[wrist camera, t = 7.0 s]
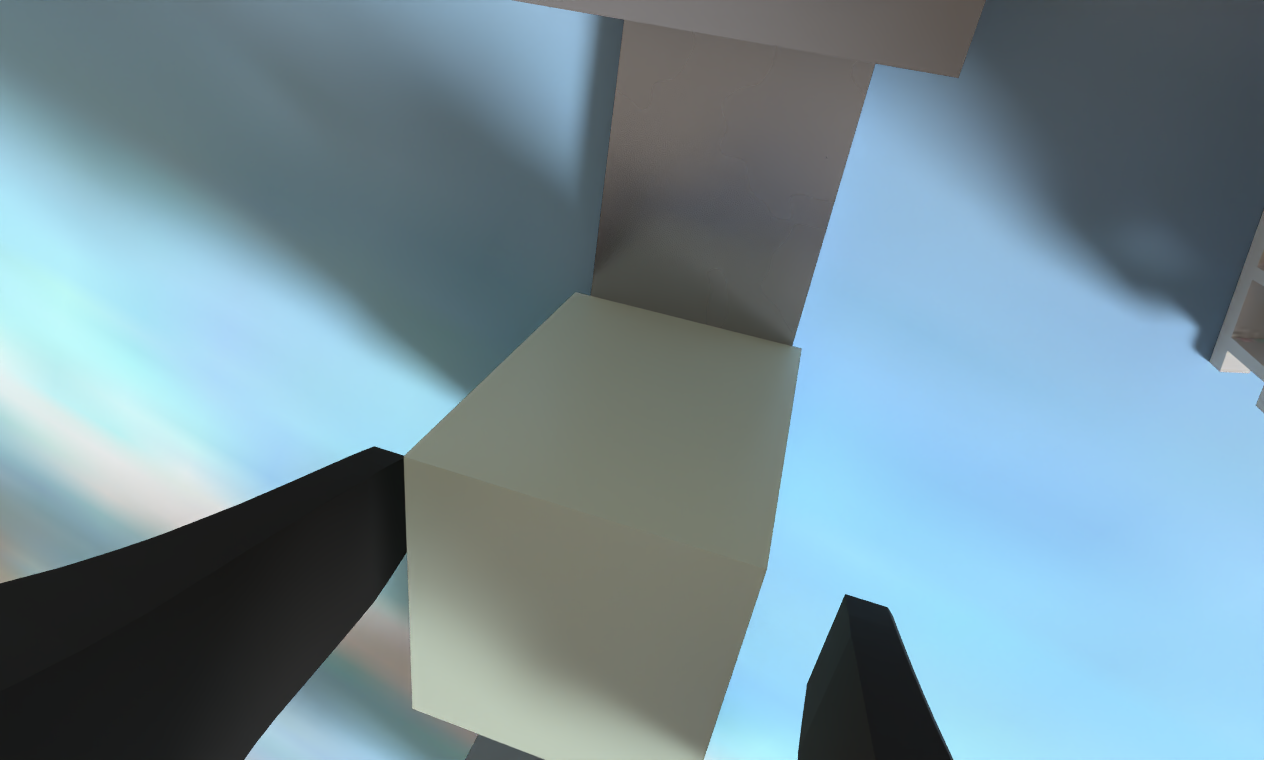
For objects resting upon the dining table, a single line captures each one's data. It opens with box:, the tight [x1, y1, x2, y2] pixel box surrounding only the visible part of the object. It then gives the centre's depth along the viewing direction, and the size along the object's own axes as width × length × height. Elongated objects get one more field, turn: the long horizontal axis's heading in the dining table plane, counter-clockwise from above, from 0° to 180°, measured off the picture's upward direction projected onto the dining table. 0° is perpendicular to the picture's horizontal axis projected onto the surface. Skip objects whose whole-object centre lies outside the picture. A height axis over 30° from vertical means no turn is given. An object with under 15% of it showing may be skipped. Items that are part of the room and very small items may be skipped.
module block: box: [404, 292, 801, 760], centre depth 12 cm, size 5×5×6 cm
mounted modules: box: [465, 0, 986, 760], centre depth 12 cm, size 22×5×5 cm, turn 172°
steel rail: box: [591, 20, 875, 346], centre depth 15 cm, size 24×4×1 cm, turn 172°
